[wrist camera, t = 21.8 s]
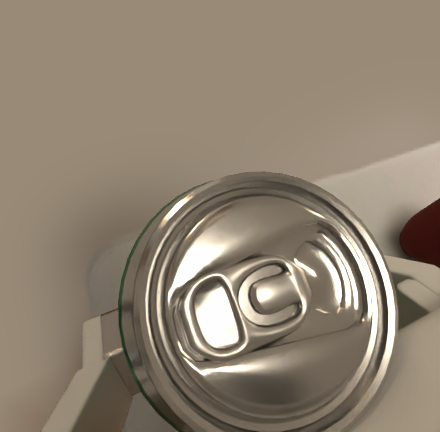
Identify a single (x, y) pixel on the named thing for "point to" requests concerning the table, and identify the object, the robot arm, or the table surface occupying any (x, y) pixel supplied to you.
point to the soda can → (258, 309)
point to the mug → (423, 235)
